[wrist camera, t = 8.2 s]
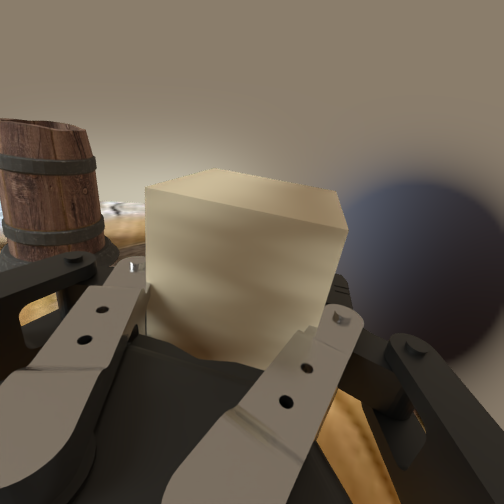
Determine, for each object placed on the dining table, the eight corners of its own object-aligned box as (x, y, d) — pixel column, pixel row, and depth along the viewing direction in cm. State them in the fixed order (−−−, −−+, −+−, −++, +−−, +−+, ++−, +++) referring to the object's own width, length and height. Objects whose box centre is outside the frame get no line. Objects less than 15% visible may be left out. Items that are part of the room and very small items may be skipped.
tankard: (130, 239, 54) (126, 130, 46) (99, 286, 39) (84, 135, 31) (-7, 228, 50) (-39, 105, 41) (-101, 276, 34) (-182, 97, 26)
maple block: (148, 436, 11) (144, 187, 7) (197, 349, 15) (214, 167, 11) (269, 479, 10) (349, 229, 6) (284, 374, 15) (335, 191, 11)
